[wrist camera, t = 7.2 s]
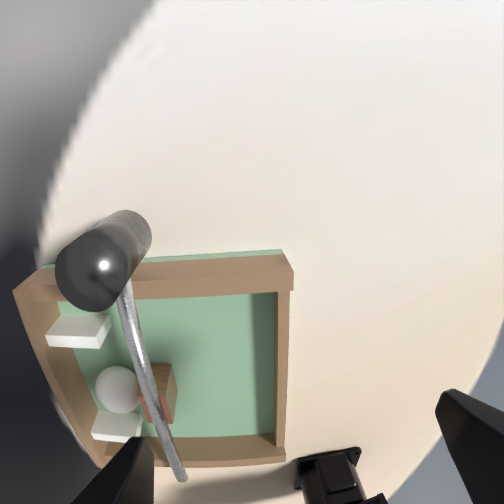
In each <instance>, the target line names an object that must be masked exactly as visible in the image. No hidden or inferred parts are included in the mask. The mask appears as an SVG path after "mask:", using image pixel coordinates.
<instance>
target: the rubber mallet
mask: <svg viewBox="0 0 504 504" xmlns="http://www.w3.org/2000/svg"><path fill="white" fill-rule="evenodd" d="M151 240H152V235H151V230H150V227H149V225H148V223H147V222H146V220H145V219H144V218H143V217H142V216H141V215H139V214H138V213H136V212H133V211H130V210H121V211H117V212H115V213H113V214H112V215H110V216H109V217H107V218H106V219H104V220H103V221H102V222H100V223H99V224H97V225H96V226H94V227H93V228H91V229H90V230H89V231H87V232H86V233H84V234H83V235H82V236H80V237H79V238H77V239H76V240H75V241H73V242H72V243H71V244H69V245H68V246H67V247H65V248H64V249H63V250H62V251H61V252H60V254H59V255H58V257H57V259H56V263H55V279H56V283H57V285H58V288H59V290H60V291H61V293H62V295H63V296H64V297H65V298H66V300H67V301H69V302H70V303H71V304H72V305H73V306H75V307H77V308H78V309H81V310H83V311H87V312H101V311H104V310H106V309H108V308H110V307H111V306H112V305H113V304H114V303H115V301H116V304H117V308H118V312H119V316H120V320H121V324H122V328H123V332H124V335H125V339H126V343H127V346H128V350H129V353H130V356H131V360H132V363H133V366H134V370H135V373H136V376H137V379H138V382H139V385H140V388H141V389H140V393H139V396H138V397H139V400H140V403H141V405H142V408H143V411H144V413H145V416H146V419H147V421H148V423H153V425H154V427H155V430H156V432H157V435H158V437H159V440H160V442H161V445H162V447H163V450H164V452H165V454H166V457H167V459H168V461H169V464H170V466H171V468H172V470H173V472H174V475H175V477H176V479H177V480H178V481H179V482H185V481H187V479H188V476H187V473H186V471H185V468H184V466H183V463H182V461H181V458H180V455H179V453H178V450H177V447H176V445H175V442H174V439H173V436H172V433H171V430H170V428H169V425H168V424H173V423H174V415H175V407H176V400H177V393H178V389H177V385H176V381H175V377H174V373H173V369H172V364H150V362H149V358H148V354H147V351H146V347H145V343H144V339H143V335H142V330H141V326H140V322H139V317H138V313H137V308H136V304H135V299H134V294H133V289H132V284H131V279H130V277H131V276H132V274H133V273H134V271H135V270H136V268H137V267H138V265H139V264H140V262H141V261H142V259H143V258H144V256H145V255H146V253H147V252H148V250H149V248H150V245H151Z"/></svg>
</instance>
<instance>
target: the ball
mask: <svg viewBox="0 0 504 504" xmlns="http://www.w3.org/2000/svg"><path fill="white" fill-rule="evenodd" d="M140 389H141V388H140V385H139V382H138V379H137V376H136V374H135V373H134V372H133V371H131V370H130V369H128V368H125V367H122V366H112V367H109V368H106V369H105V370H103V371H102V372H101V373H100V374H99V376H98V378H97V380H96V384H95V391H96V395H97V398H98V400H99V401H100V403H101V404H102V405H103V406H104V407H105V408H106V409H108V410H110V411H112V412H115V413H128V412H131V411H133V410H134V409H135V408H137V406H138V405H139V404H140V400H139V397H138V396H139V393H140Z"/></svg>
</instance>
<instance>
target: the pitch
mask: <svg viewBox="0 0 504 504" xmlns="http://www.w3.org/2000/svg"><path fill="white" fill-rule="evenodd" d="M293 278H294V271H293V269H292V268H291V266H290V264H289V262H288V260H287V258H286V256H285V255H284V253H283V251H282V249H278V250H262V251H246V252H230V253H215V254H199V255H183V256H168V257H152V258H143V259H142V261H141V262H140V264H139V265H138V267H137V268H136V270H135V271H134V273H133V274H132V276H131V277H130V279H131V284H132V289H133V294H134V299H135V304H136V308H137V313H138V317H139V322H140V326H141V330H142V335H143V339H144V343H145V347H146V351H147V354H148V358H149V362H150V364H172V369H173V373H174V377H175V381H176V385H177V389H178V393H177V400H176V407H175V415H174V423H173V424H168V425H169V428H170V430H171V433H172V436H173V439H174V442H175V445H176V447H177V450H178V453H179V455H180V458H181V461H182V463H183V466H184V468H210V467H235V466H250V465H261V464H271V463H279V462H285V461H286V453H285V448H284V440H285V421H286V401H287V377H288V346H289V300H290V291H292V290H293ZM13 295H14V298H15V301H16V304H17V307H18V310H19V313H20V316H21V318H22V321H23V324H24V327H25V330H26V332H27V335H28V337H29V340H30V342H31V345H32V347H33V350H34V352H35V354H36V357H37V359H38V361H39V364H40V366H41V368H42V370H43V372H44V375H45V377H46V379H47V381H48V383H49V385H50V387H51V389H52V391H53V393H54V395H55V397H56V399H57V401H58V403H59V405H60V406H61V408H62V410H63V412H64V414H65V415H66V417H67V419H68V421H69V422H70V424H71V426H72V428H73V429H74V431H75V433H76V434H77V436H78V437H79V439H80V441H81V442H82V444H83V445H84V447H85V449H86V450H87V452H88V453H89V455H90V456H91V458H92V459H93V461H94V462H95V463H96V465H97V466H98V467H101V468H104V466H105V465H106V464H107V463H108V462H109V461H110V460H111V459H112V458H113V456H114V455H115V454H116V453H117V452H118V451H119V450H120V448H121V447H122V446H123V445H124V444H125V443H126V442H127V441H128V439H129V438H130V437H132V436H140V437H145V438H146V439H147V441H148V443H149V445H150V447H151V449H152V452H153V454H154V466H156V467H171V466H170V464H169V461H168V459H167V457H166V454H165V452H164V450H163V447H162V445H161V442H160V440H159V437H158V435H157V432H156V430H155V427H154V425H153V423H148V421H147V419H146V416H145V413H144V411H143V408H142V405H141V403H140V404H139V405H138V406H137V408H135V409H134V410H133V411H131V412H128V413H115V412H112V411H110V410H108V409H106V408H105V407H104V406H103V405H102V404H101V403H100V401H99V400H98V398H97V395H96V391H95V384H96V380H97V378H98V376H99V374H100V373H101V372H102V371H103V370H105V369H106V368H109V367H112V366H122V367H125V368H128V369H130V370H131V371H133V372H134V373H135V370H134V366H133V363H132V360H131V356H130V353H129V350H128V346H127V343H126V339H125V335H124V332H123V328H122V324H121V320H120V316H119V312H118V308H117V304H116V301H115V303H114V304H113V305H112V306H111V307H110V308H108V309H106V310H104V311H101V312H87V311H83V310H81V309H78V308H77V307H75V306H73V305H72V304H71V303H70V302H69V301H67V300H66V298H65V297H64V296H63V295H62V293H61V291H60V290H59V288H58V285H57V283H56V279H55V264H44V265H43V266H42V267H40V268H39V269H38V270H37V271H35V272H34V273H33V274H32V275H31V276H29V277H28V278H27V279H26V280H25V281H23V282H22V283H21V284H20V285H19V286H18V287H16V288H15V289H14V290H13ZM135 374H136V373H135Z"/></svg>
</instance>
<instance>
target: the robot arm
mask: <svg viewBox="0 0 504 504" xmlns="http://www.w3.org/2000/svg"><path fill="white" fill-rule="evenodd" d="M435 415H436V418H437V421H438V423H439V426H440V428H441V431H442V434H443V437H444V439H445V442H446V445H447V447H448V450H449V452H450V455H451V457H452V459H453V461H454V463H455V465H456V467H457V469H458V471H459V474H460V476H461V478H462V480H463V482H464V484H465V486H466V488H467V491H468V493H469V495H470V498H471V500H472V502H473V504H504V412H503V411H500V410H498V409H496V408H494V407H492V406H490V405H487V404H486V403H483V402H481V401H479V400H477V399H475V398H473V397H471V396H469V395H467V394H465V393H462V392H460V391H458V390H456V389H449V390H447V391H444V392H443V393H442V394H441V396H440V399H439V401H438V404H437V406H436V409H435ZM361 452H362V451H361V448H360V447H357V448H352V449H348V450H343V451H339V452H334V453H329V454H324V455H318V456H313V457H307V458H301V459H299V460H297V462H296V470H295V478H294V485H293V487H294V489H295V490H300V489H302V492H303V496H304V500H305V504H388V503H387V501H386V499H385V497H384V495H383V493H380V494H378V495H377V496H375V497H372V498H370V499H367V498H366V495H365V492H364V490H363V487H362V485H361V482H360V479H359V477H358V474H357V471H356V469H355V467H356V465H357V462H358V460H359V457H360V455H361ZM153 502H154V454H153V452H152V449H151V447H150V445H149V443H148V441H147V439H146V438H145V437H140V436H132V437H130V438H129V439H128V441H127V442H126V443H125V444H124V445H123V446H122V447H121V448H120V450H119V451H118V452H117V453H116V454H115V455H114V456H113V458H112V459H111V460H110V461H109V462H108V463H107V464H106V465H105V466H104V468H103V469H102V470H101V471H100V472H99V473H98V474H97V475H96V477H95V478H94V479H93V480H92V481H91V482H90V483H89V484H88V485H87V487H86V488H85V489H84V490H83V491H82V492H81V493H80V494H79V495H78V496H77V497H76V498H75V500H74V501H73V502H72V503H71V504H153Z"/></svg>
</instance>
